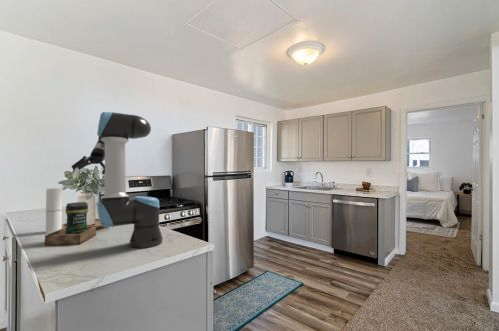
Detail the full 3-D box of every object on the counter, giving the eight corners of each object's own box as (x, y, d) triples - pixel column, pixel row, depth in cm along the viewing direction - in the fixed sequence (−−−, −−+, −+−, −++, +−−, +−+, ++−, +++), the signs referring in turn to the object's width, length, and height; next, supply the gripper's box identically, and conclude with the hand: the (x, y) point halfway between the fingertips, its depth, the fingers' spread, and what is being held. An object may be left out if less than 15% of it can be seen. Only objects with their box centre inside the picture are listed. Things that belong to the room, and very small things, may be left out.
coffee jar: (66, 241, 119) (67, 204, 119) (63, 238, 124) (63, 202, 124) (89, 237, 126) (90, 202, 126) (85, 234, 131) (86, 200, 131)
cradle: (96, 235, 133) (96, 226, 133) (80, 244, 118) (80, 234, 118) (65, 236, 131) (65, 227, 131) (44, 245, 116) (45, 235, 116)
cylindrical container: (52, 234, 135) (53, 189, 135) (42, 233, 136) (42, 188, 136) (64, 230, 142) (65, 188, 142) (54, 230, 143) (55, 187, 143)
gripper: (122, 156, 153) (112, 182, 138) (80, 156, 149) (64, 182, 134) (119, 148, 147) (108, 173, 132) (75, 147, 144) (58, 173, 129)
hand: (86, 177), depth 133 cm, fingers open, 13 cm apart
